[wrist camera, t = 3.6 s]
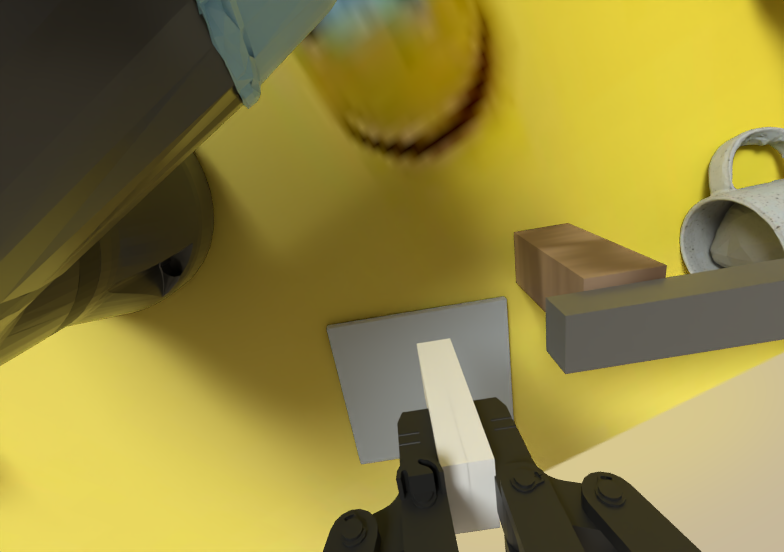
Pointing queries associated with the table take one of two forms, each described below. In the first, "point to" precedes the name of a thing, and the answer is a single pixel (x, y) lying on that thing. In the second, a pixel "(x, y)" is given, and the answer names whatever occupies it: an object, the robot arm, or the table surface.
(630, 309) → the dark grey bar
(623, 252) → the stand
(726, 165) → the ceramic mug
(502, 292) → the table surface
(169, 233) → the robot arm
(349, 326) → the mat
